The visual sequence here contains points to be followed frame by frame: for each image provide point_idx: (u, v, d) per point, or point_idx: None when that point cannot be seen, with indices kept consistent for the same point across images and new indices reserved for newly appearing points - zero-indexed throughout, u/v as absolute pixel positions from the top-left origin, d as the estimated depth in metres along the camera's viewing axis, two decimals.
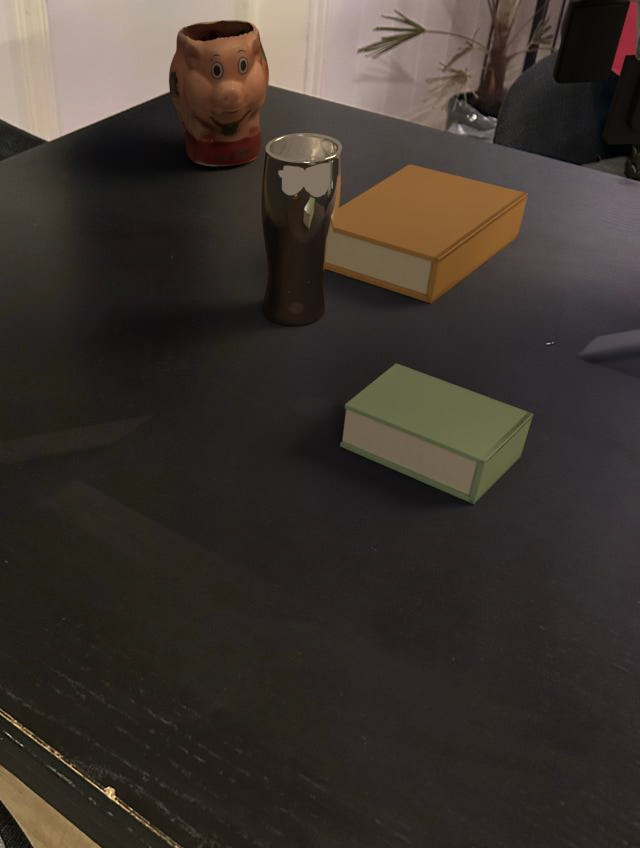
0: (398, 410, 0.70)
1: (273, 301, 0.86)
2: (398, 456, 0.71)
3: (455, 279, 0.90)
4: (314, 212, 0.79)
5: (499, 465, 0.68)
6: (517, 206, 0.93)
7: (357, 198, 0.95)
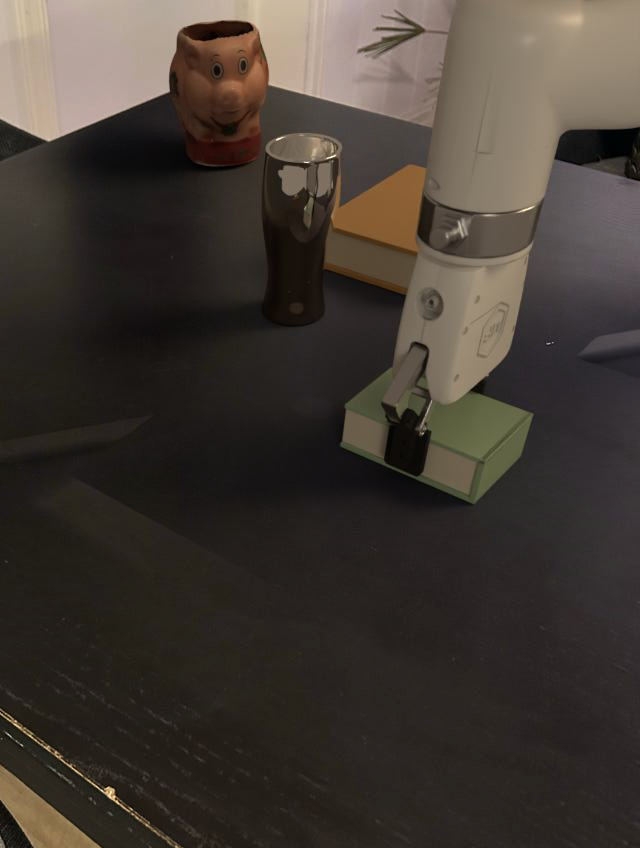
0: None
1: (273, 301, 0.86)
2: None
3: None
4: (314, 212, 0.79)
5: (499, 465, 0.68)
6: None
7: (357, 198, 0.95)
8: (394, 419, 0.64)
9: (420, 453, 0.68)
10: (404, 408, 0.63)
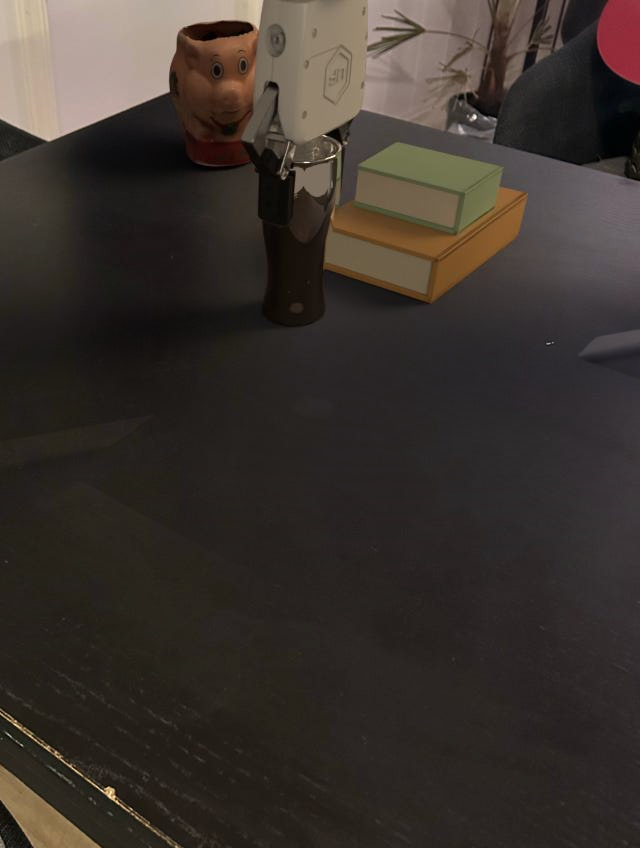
0: (399, 167, 0.90)
1: (273, 301, 0.86)
2: (399, 205, 0.91)
3: (455, 279, 0.90)
4: (314, 212, 0.79)
5: (477, 206, 0.88)
6: (517, 206, 0.93)
7: None
8: (256, 159, 0.74)
9: (285, 200, 0.77)
10: (262, 146, 0.73)
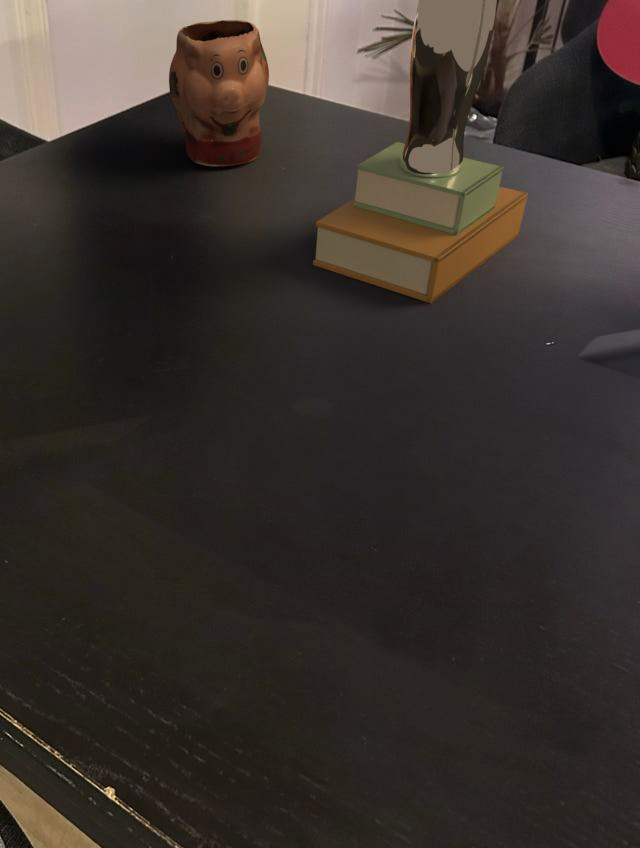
0: (399, 167, 0.90)
1: (415, 152, 0.87)
2: (399, 205, 0.91)
3: (455, 279, 0.90)
4: (469, 50, 0.79)
5: (477, 206, 0.88)
6: (517, 206, 0.93)
7: None
8: None
9: None
10: None
